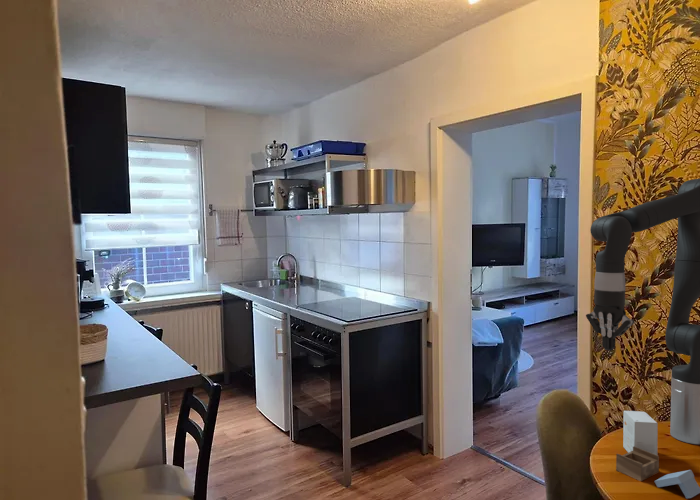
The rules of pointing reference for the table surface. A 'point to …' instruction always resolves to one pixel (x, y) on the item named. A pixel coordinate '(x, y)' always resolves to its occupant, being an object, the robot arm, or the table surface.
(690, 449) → the table surface
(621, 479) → the table surface
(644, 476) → the case
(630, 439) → the small box
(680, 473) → the lid
